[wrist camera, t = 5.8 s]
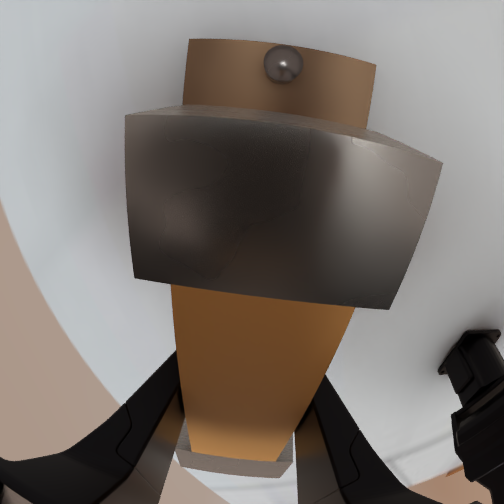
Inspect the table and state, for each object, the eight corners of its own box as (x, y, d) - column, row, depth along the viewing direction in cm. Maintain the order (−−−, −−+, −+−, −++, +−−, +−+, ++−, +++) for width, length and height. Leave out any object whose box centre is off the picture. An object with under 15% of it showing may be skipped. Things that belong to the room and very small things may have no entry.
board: (370, 66, 13) (402, 58, 9) (301, 349, 24) (303, 391, 20) (194, 41, 13) (167, 25, 9) (185, 334, 24) (172, 375, 20)
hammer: (376, 131, 7) (442, 162, 4) (280, 423, 14) (279, 478, 11) (187, 104, 7) (125, 115, 4) (192, 412, 14) (180, 466, 11)
